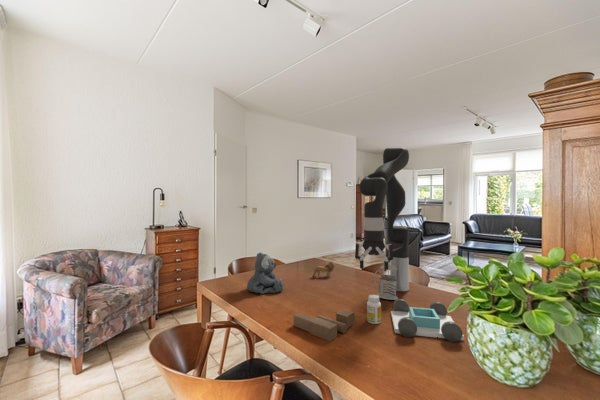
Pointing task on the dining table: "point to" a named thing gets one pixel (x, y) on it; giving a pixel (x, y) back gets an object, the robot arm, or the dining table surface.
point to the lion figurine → (324, 269)
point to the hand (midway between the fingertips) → (373, 270)
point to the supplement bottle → (374, 310)
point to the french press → (391, 281)
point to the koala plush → (264, 276)
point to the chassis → (424, 321)
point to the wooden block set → (324, 324)
